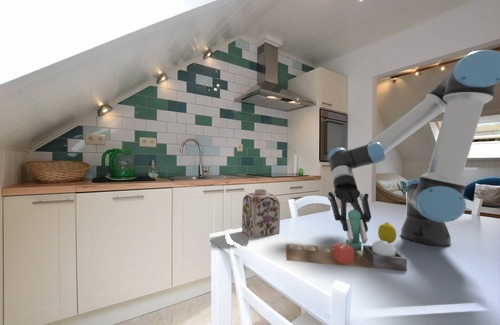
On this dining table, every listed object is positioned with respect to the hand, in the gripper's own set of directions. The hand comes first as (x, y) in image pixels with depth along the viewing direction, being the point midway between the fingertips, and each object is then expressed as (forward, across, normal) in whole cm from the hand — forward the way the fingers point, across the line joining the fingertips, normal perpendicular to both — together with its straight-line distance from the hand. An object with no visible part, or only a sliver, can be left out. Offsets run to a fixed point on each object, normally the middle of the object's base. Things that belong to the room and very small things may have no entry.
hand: (358, 240), depth 64 cm
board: (+4, +6, -4) cm, 8 cm away
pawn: (0, 0, -5) cm, 5 cm away
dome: (+4, -6, -1) cm, 7 cm away
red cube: (+6, +5, -1) cm, 8 cm away
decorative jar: (-9, +31, -17) cm, 37 cm away
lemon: (-7, -15, -16) cm, 23 cm away
